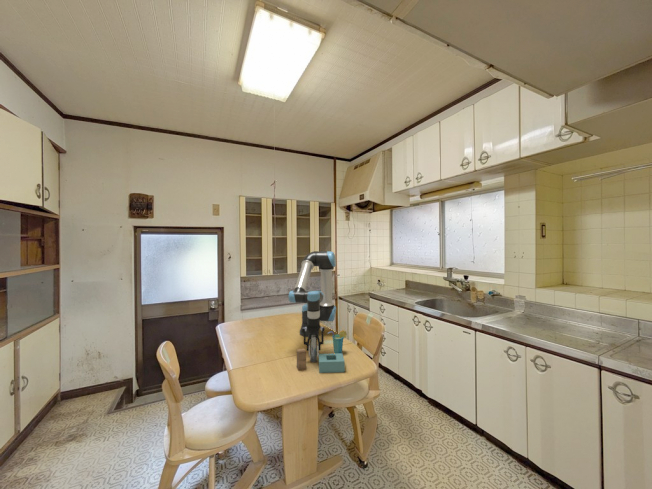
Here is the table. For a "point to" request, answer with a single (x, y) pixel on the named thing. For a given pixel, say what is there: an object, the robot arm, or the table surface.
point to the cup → (338, 341)
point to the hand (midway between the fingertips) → (313, 355)
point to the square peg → (301, 359)
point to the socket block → (331, 363)
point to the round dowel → (313, 348)
